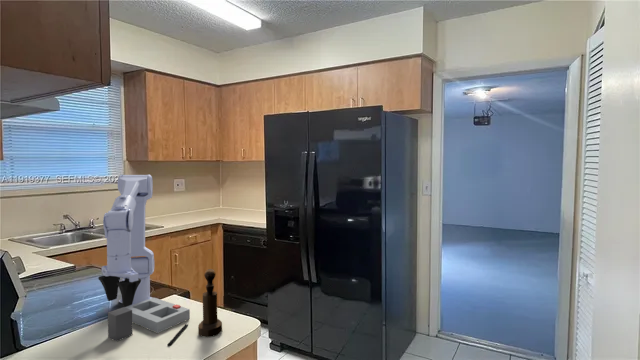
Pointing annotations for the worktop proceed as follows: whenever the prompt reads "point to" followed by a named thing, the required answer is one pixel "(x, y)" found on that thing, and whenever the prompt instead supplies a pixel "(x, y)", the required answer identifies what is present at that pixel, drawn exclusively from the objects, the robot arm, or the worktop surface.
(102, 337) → the worktop surface
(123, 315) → the plug
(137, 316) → the socket plate
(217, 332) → the dark brown pepper mill
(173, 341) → the thin black rod
